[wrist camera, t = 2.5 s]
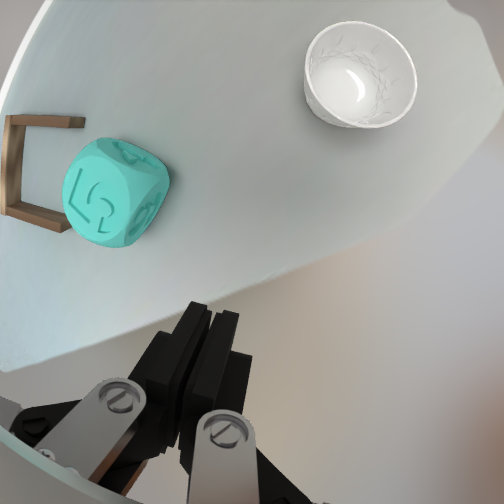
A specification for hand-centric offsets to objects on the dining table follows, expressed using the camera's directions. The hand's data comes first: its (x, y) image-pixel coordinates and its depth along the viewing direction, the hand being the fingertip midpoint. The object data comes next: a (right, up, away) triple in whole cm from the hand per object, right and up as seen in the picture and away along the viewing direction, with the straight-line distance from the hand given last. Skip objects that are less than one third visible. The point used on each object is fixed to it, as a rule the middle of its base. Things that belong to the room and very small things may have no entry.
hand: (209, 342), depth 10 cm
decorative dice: (-11, +10, +21) cm, 26 cm away
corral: (-24, +14, +21) cm, 35 cm away
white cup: (+10, +18, +15) cm, 26 cm away
